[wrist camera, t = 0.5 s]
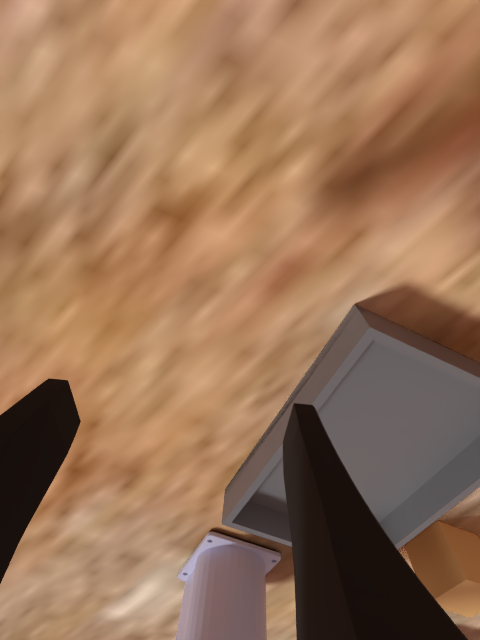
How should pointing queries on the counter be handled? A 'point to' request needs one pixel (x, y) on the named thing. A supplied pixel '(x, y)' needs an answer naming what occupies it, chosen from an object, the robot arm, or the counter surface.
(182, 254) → the counter surface
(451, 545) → the ochre block
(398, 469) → the charcoal tray
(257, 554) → the robot arm
